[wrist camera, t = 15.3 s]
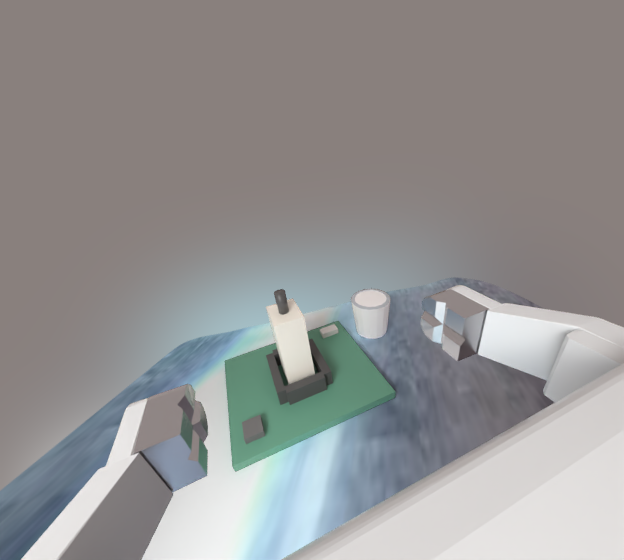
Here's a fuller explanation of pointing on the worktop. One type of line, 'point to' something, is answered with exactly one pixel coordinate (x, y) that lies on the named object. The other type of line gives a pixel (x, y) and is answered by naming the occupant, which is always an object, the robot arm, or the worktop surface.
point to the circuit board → (298, 394)
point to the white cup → (371, 312)
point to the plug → (290, 338)
